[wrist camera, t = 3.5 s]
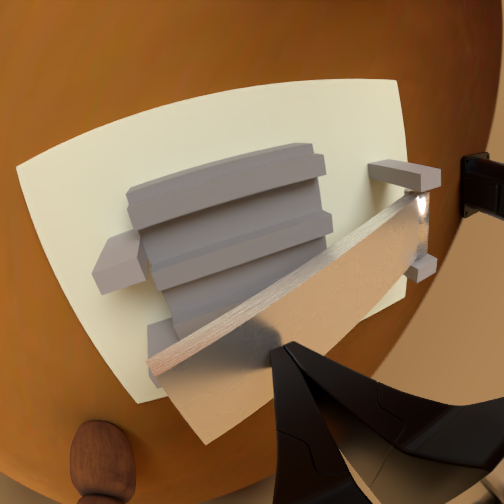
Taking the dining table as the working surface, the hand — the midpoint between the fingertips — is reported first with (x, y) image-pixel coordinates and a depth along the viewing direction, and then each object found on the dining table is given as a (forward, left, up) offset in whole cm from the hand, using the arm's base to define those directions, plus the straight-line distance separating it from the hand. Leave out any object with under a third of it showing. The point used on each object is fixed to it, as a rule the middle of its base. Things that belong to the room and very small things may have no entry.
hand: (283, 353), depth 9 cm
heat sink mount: (-2, 0, -9) cm, 9 cm away
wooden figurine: (+16, +13, -9) cm, 22 cm away
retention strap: (-4, 0, -3) cm, 5 cm away
